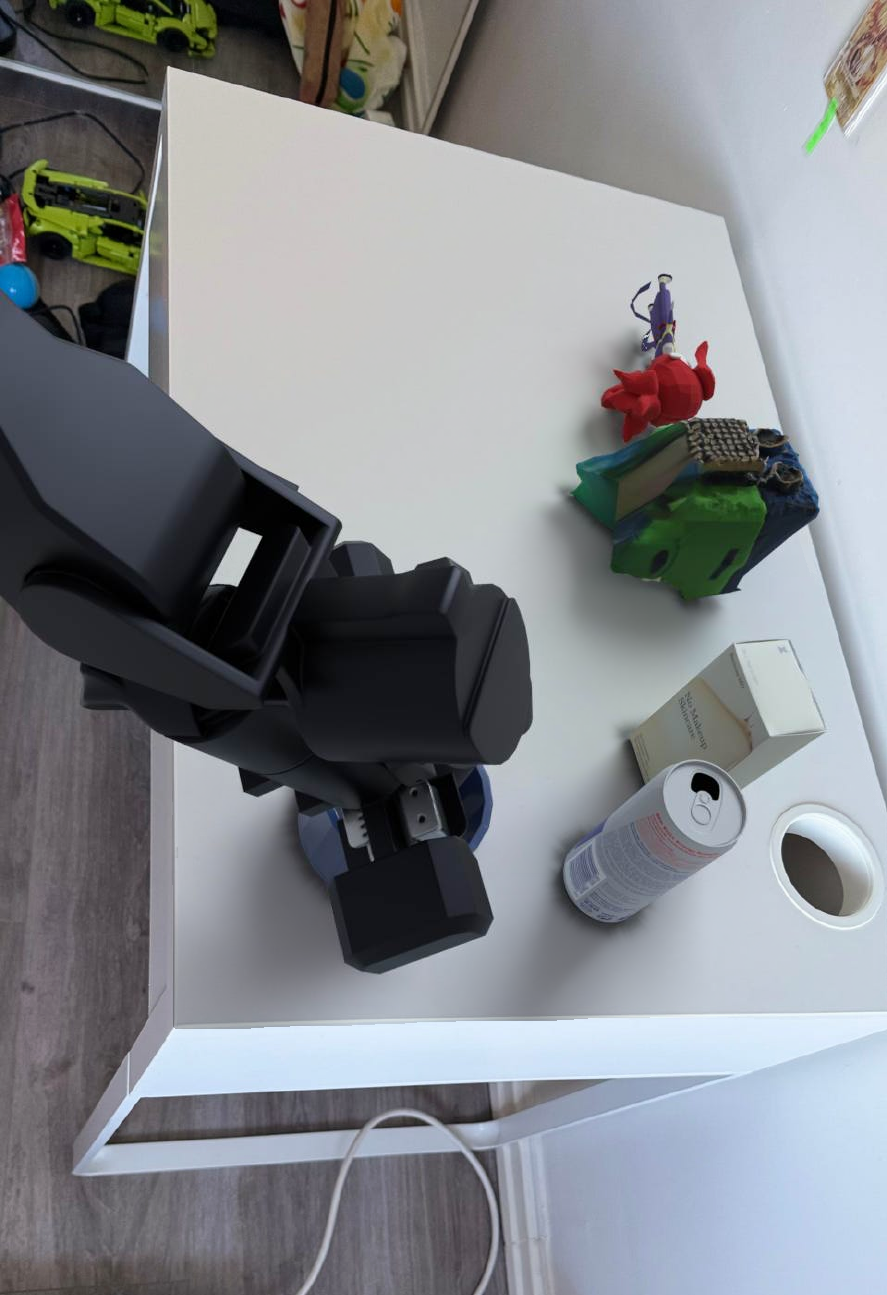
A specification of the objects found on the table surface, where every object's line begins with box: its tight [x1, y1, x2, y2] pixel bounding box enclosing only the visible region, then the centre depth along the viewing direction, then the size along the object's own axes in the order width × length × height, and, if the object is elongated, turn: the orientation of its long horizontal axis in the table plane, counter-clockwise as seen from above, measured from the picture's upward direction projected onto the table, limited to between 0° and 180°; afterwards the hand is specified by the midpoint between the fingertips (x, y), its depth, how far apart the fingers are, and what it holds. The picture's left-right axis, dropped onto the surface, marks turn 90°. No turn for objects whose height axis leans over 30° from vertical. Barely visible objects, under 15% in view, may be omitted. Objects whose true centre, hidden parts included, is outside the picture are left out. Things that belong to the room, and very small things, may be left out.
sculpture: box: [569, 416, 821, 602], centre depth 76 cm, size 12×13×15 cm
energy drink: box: [562, 759, 749, 923], centre depth 61 cm, size 5×5×12 cm
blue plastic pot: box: [297, 765, 494, 885], centre depth 61 cm, size 10×10×6 cm
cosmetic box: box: [629, 637, 828, 791], centre depth 66 cm, size 6×4×12 cm
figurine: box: [600, 273, 716, 444], centre depth 84 cm, size 6×8×15 cm
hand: (445, 789), depth 55 cm, fingers closed on scrub stick, 2 cm apart
